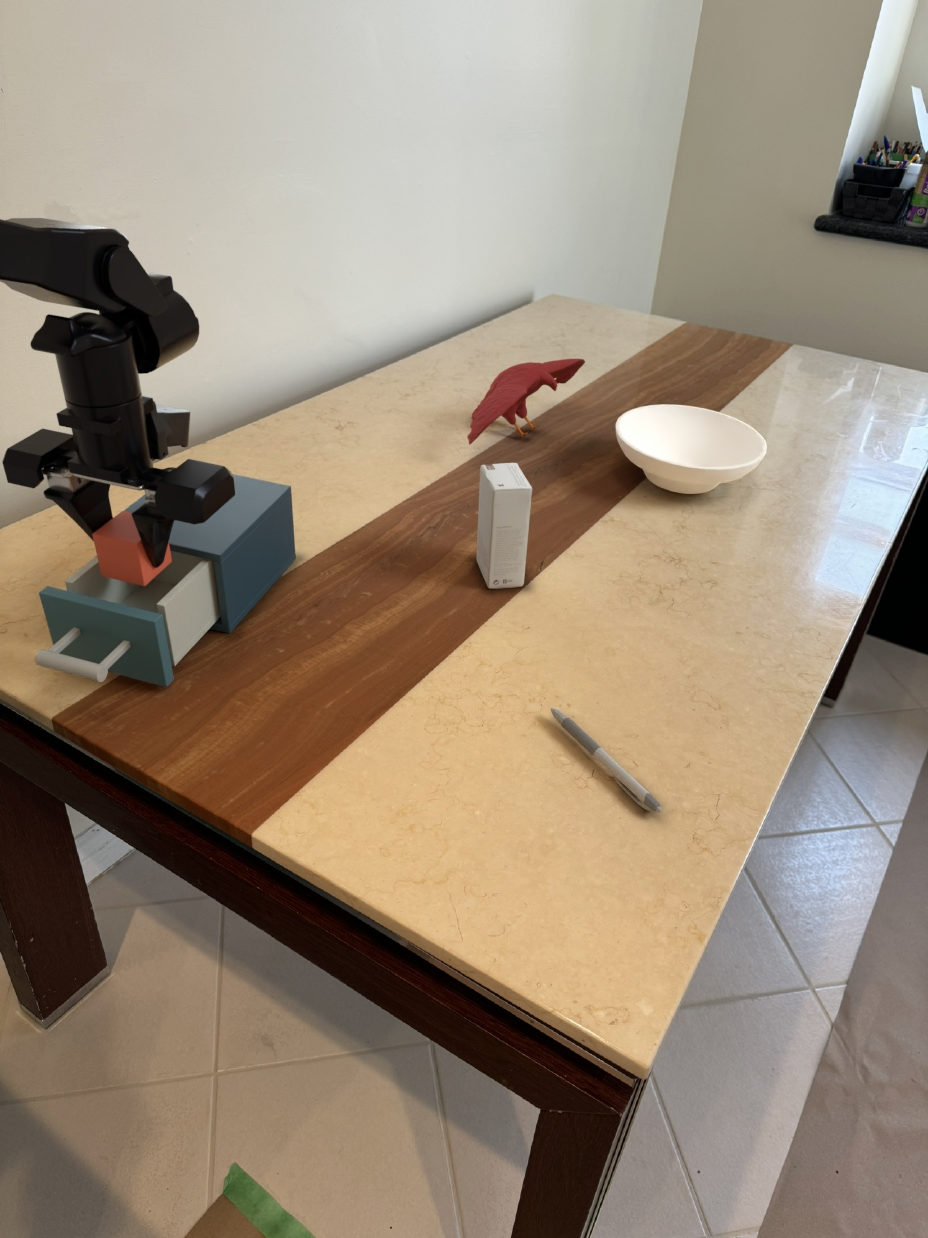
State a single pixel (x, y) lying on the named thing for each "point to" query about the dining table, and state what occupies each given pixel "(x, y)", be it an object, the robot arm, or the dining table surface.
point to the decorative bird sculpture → (519, 392)
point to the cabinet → (241, 544)
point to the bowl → (689, 446)
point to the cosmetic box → (503, 524)
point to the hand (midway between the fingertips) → (135, 559)
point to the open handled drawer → (129, 621)
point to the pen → (608, 763)
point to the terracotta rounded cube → (125, 552)
